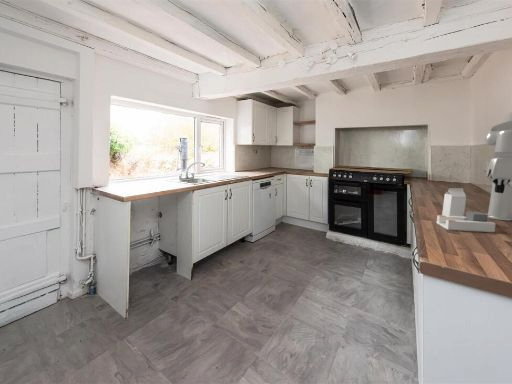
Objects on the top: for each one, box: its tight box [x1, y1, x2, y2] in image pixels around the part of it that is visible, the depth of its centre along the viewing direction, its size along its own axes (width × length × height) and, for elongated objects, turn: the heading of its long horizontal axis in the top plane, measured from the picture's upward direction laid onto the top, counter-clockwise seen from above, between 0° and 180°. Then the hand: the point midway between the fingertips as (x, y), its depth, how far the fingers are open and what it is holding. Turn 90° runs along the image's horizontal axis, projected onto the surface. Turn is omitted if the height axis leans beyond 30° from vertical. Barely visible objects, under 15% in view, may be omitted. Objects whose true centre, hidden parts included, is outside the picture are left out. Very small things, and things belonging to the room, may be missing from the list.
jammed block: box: [465, 211, 488, 222], centre depth 124 cm, size 6×6×7 cm
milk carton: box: [441, 187, 467, 217], centre depth 136 cm, size 7×7×19 cm
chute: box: [436, 214, 496, 233], centre depth 125 cm, size 20×12×5 cm, turn 77°
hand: (498, 192), depth 119 cm, fingers closed
